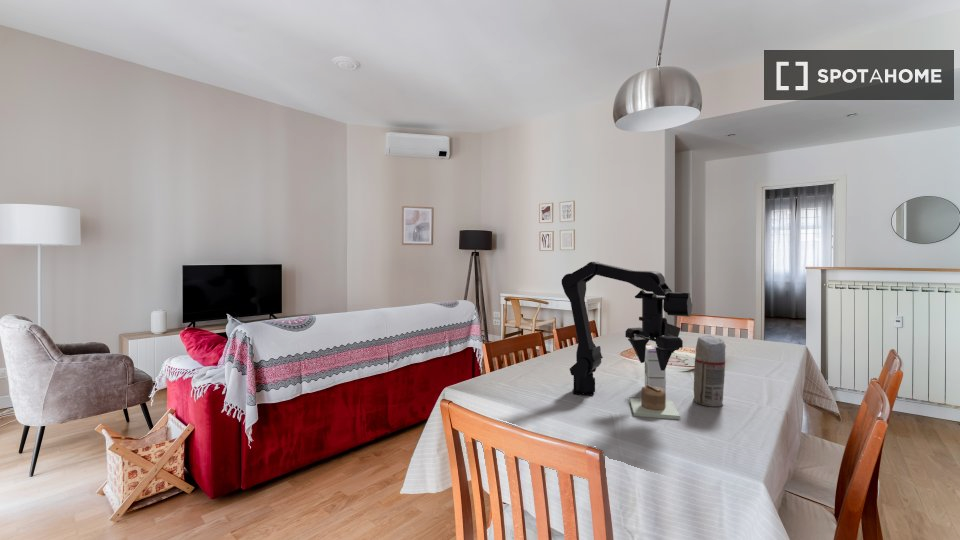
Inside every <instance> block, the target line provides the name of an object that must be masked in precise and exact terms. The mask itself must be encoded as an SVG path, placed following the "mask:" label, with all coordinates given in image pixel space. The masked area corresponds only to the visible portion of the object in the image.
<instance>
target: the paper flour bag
mask: <svg viewBox="0 0 960 540" xmlns="http://www.w3.org/2000/svg"><path fill="white" fill-rule="evenodd" d="M693 369H694V370H693V371H694V372H693V373H694V374H693V401H694V402H695V403H697V404H699V405H701V406H702V405H703V406H706V407H721V406H723V405H724V404H723V401H724V387H725V386H724V385H725V375H726V374H725V372H726V343H725V341H724V339H722V338H716V337H714V336H712V335H704V336H699V337H697V342H696V346H695V357H694V367H693Z"/></svg>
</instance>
